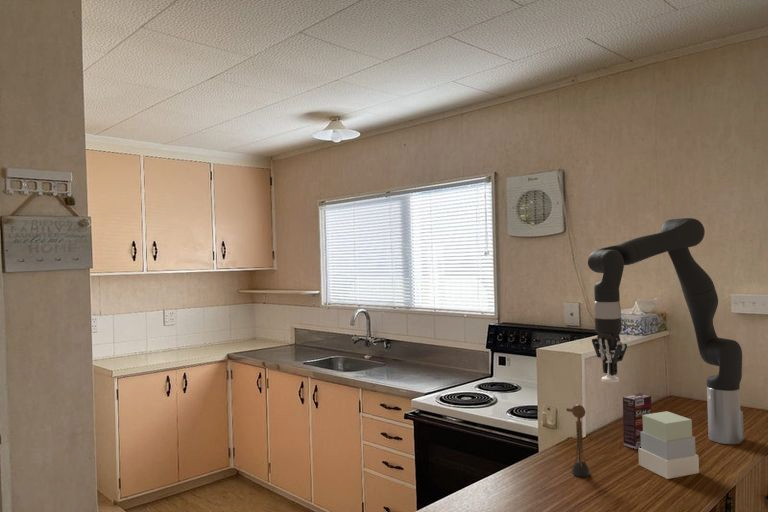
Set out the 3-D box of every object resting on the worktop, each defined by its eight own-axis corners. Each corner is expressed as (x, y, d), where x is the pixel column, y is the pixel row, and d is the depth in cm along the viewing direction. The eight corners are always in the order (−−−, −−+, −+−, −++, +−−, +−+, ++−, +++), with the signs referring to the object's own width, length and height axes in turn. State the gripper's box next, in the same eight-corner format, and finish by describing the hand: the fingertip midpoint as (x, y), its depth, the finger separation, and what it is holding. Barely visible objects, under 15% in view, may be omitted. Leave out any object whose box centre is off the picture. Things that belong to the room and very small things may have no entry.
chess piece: (598, 379, 172) (597, 346, 172) (614, 378, 173) (612, 345, 173) (606, 383, 167) (604, 349, 167) (622, 381, 168) (621, 348, 168)
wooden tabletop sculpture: (565, 472, 164) (563, 404, 164) (573, 468, 167) (571, 400, 167) (584, 478, 160) (582, 407, 160) (592, 473, 163) (590, 404, 163)
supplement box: (636, 449, 180) (634, 400, 180) (623, 445, 184) (621, 396, 184) (653, 444, 184) (652, 395, 184) (640, 440, 188) (638, 392, 188)
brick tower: (669, 459, 171) (667, 409, 171) (699, 472, 160) (697, 420, 160) (638, 464, 168) (637, 414, 168) (667, 478, 157) (665, 425, 157)
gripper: (634, 317, 164) (636, 377, 165) (603, 313, 178) (605, 368, 178) (612, 319, 162) (615, 380, 162) (582, 314, 175) (584, 370, 176)
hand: (610, 373), depth 170 cm, fingers closed on chess piece
